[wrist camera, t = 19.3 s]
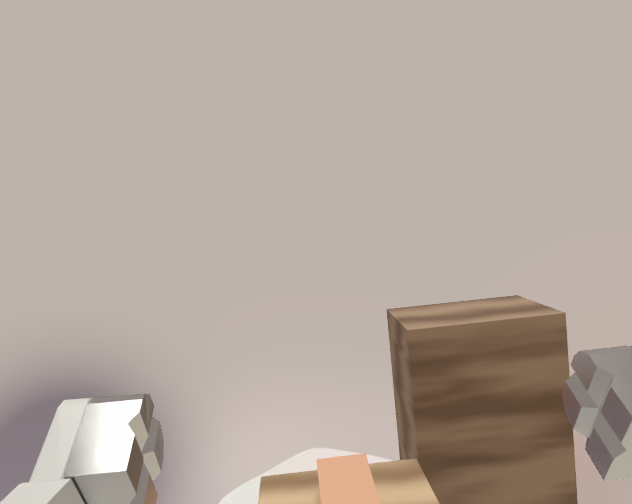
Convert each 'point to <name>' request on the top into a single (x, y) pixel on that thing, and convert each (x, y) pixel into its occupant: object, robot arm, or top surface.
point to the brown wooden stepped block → (470, 409)
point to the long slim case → (346, 480)
